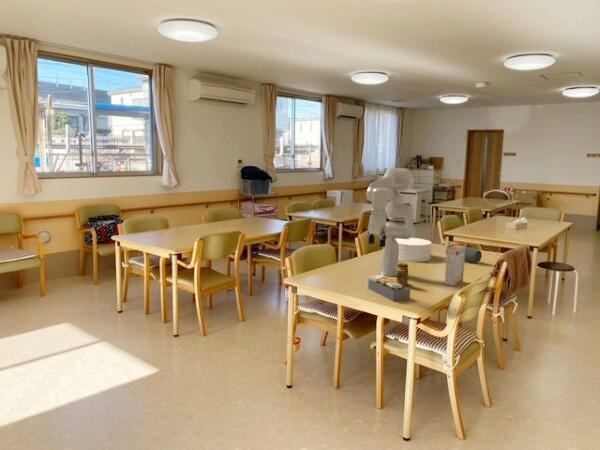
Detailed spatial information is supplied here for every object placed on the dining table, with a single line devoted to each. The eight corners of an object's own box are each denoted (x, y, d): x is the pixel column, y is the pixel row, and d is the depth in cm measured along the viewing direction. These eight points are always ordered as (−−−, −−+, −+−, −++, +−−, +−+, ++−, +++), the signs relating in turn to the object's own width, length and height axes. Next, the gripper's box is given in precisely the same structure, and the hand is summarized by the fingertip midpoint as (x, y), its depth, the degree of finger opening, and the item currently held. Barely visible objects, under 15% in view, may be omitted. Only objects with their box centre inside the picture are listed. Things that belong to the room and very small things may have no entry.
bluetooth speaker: (444, 258, 322) (445, 244, 320) (452, 256, 327) (453, 243, 326) (473, 264, 304) (474, 250, 302) (481, 263, 309) (482, 248, 308)
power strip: (383, 286, 250) (384, 277, 249) (409, 298, 229) (410, 289, 228) (368, 288, 246) (368, 278, 245) (393, 301, 225) (393, 291, 224)
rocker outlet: (396, 287, 233) (397, 282, 233) (401, 289, 229) (402, 285, 229) (386, 286, 230) (387, 281, 230) (391, 288, 226) (392, 284, 226)
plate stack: (435, 256, 328) (436, 240, 327) (423, 263, 305) (424, 246, 303) (398, 251, 343) (399, 236, 341) (384, 257, 320) (385, 241, 318)
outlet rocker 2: (388, 283, 239) (389, 279, 239) (393, 285, 235) (394, 281, 235) (378, 282, 236) (379, 278, 236) (383, 285, 232) (384, 280, 232)
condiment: (393, 285, 253) (394, 264, 251) (400, 282, 259) (401, 261, 257) (405, 287, 248) (406, 266, 246) (412, 284, 254) (413, 263, 253)
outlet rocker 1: (381, 278, 245) (381, 273, 245) (386, 280, 241) (385, 275, 241) (371, 281, 243) (371, 276, 243) (376, 283, 239) (375, 279, 239)
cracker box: (453, 279, 266) (455, 244, 263) (463, 281, 263) (466, 246, 259) (443, 284, 256) (446, 248, 252) (454, 286, 252) (457, 249, 249)
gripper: (362, 211, 241) (361, 242, 243) (382, 214, 225) (380, 248, 228) (374, 210, 244) (372, 242, 246) (394, 214, 229) (392, 247, 231)
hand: (376, 245), depth 237 cm, fingers open, 9 cm apart
